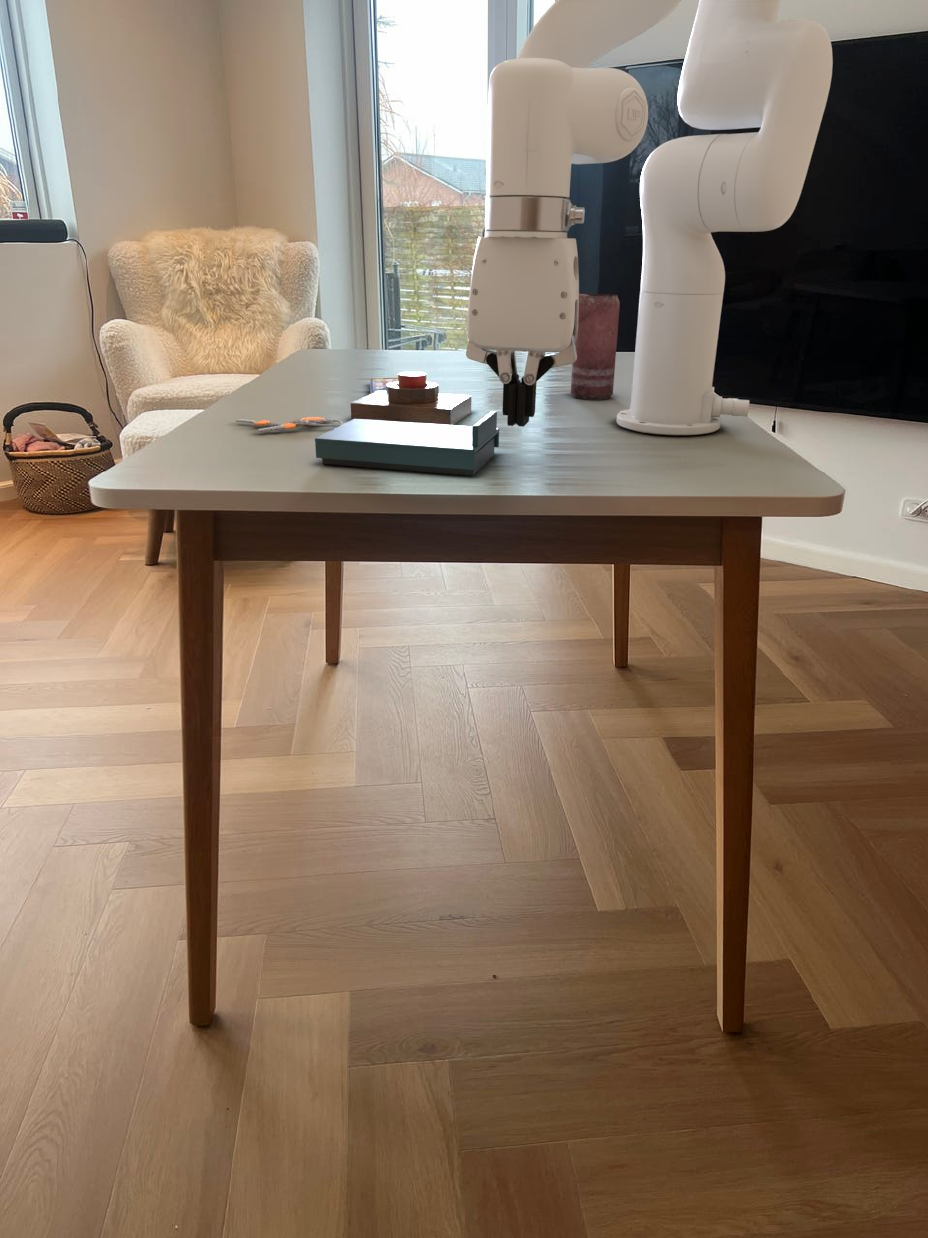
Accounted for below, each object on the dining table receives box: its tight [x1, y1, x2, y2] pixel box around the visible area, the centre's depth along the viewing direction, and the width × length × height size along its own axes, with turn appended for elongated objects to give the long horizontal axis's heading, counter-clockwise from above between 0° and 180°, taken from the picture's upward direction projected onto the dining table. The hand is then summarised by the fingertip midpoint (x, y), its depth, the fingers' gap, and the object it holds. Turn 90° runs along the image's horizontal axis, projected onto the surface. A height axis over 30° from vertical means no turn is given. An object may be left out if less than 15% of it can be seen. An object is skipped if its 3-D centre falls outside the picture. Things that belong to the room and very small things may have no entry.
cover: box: [314, 410, 500, 470], centre depth 90 cm, size 17×10×4 cm, turn 75°
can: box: [570, 293, 621, 401], centre depth 124 cm, size 6×6×14 cm
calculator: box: [321, 437, 495, 477], centre depth 91 cm, size 16×9×2 cm, turn 75°
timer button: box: [397, 371, 427, 388], centre depth 110 cm, size 4×4×2 cm
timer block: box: [350, 380, 472, 425], centre depth 111 cm, size 13×10×4 cm
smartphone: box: [369, 377, 398, 394], centre depth 128 cm, size 1×7×15 cm
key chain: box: [235, 416, 344, 433], centre depth 105 cm, size 13×7×1 cm, turn 102°
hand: (518, 423), depth 86 cm, fingers closed
